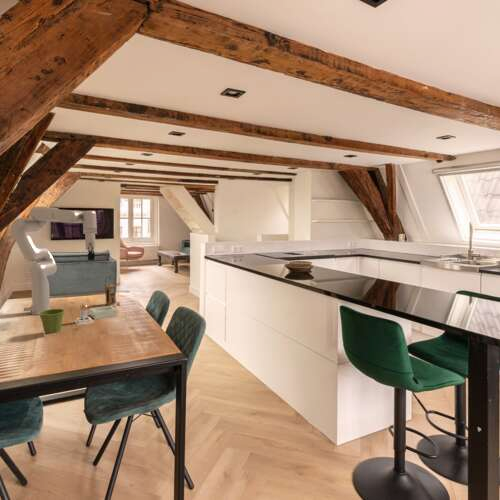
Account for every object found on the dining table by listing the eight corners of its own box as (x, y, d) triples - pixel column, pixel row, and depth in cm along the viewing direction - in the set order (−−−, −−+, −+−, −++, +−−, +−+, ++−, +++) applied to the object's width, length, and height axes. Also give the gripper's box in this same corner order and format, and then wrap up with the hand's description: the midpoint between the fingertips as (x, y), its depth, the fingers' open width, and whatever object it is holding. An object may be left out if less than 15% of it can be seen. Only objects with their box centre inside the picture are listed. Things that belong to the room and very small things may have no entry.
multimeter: (116, 307, 240) (115, 277, 238) (103, 306, 242) (102, 277, 240) (128, 302, 254) (127, 274, 252) (115, 302, 256) (114, 274, 254)
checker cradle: (77, 326, 197) (77, 322, 197) (74, 322, 204) (74, 318, 204) (94, 323, 202) (94, 319, 202) (91, 320, 210) (91, 316, 210)
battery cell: (81, 322, 201) (80, 305, 200) (80, 321, 204) (79, 303, 203) (88, 321, 203) (88, 304, 202) (87, 320, 206) (86, 303, 205)
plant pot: (41, 330, 189) (40, 309, 188) (66, 328, 194) (66, 307, 193) (37, 337, 178) (36, 315, 177) (64, 335, 182) (63, 313, 182)
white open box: (95, 321, 208) (94, 312, 208) (90, 316, 218) (90, 308, 217) (116, 317, 215) (116, 309, 215) (111, 313, 225) (110, 305, 224)
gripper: (84, 231, 225) (85, 258, 226) (82, 231, 209) (83, 261, 210) (97, 230, 228) (98, 257, 229) (96, 231, 211) (97, 260, 213)
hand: (91, 259), depth 220 cm, fingers open, 9 cm apart
